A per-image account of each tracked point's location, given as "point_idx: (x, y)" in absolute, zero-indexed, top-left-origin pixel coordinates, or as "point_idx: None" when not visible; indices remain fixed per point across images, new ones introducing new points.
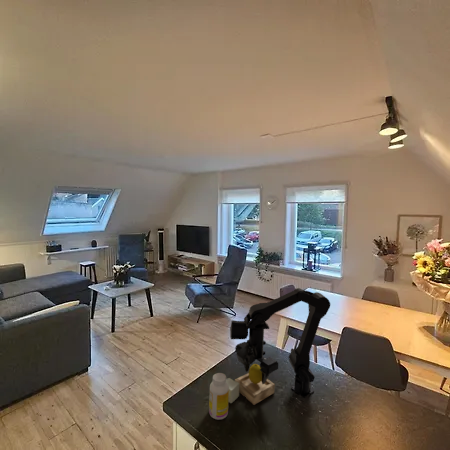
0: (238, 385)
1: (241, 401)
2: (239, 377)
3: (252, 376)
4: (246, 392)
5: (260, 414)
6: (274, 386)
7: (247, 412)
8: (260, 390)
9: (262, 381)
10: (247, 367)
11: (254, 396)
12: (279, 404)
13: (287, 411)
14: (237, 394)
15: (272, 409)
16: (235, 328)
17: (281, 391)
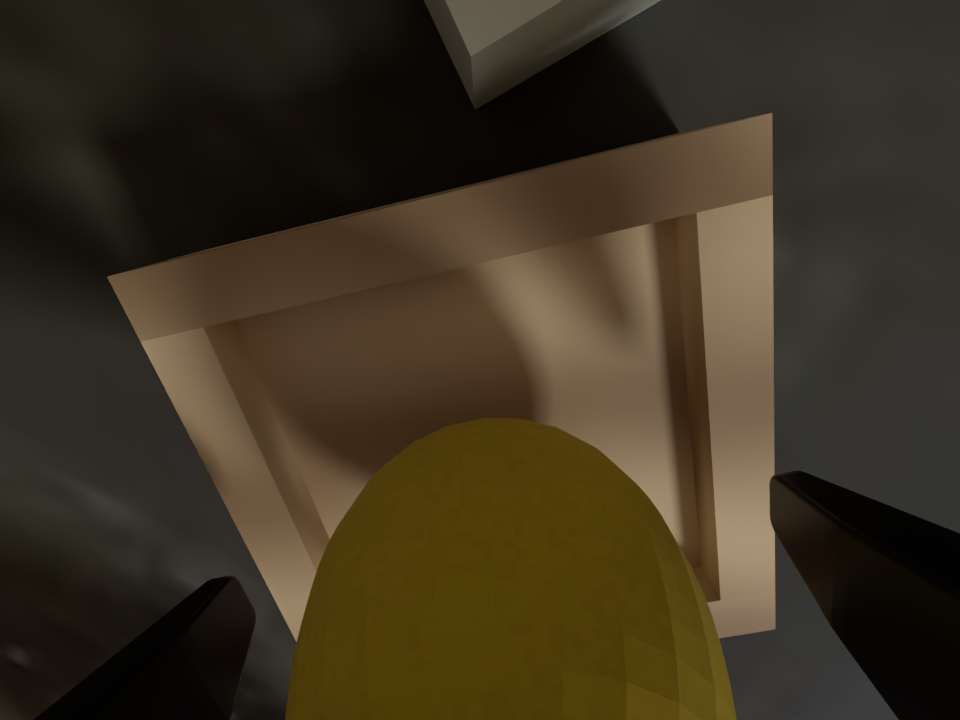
0: (450, 19)
1: (339, 86)
2: (768, 262)
3: (382, 519)
4: (359, 213)
5: (21, 242)
6: None
7: (77, 58)
8: (235, 458)
9: (153, 634)
10: (849, 586)
11: (122, 278)
12: (168, 543)
13: (50, 559)
14: (450, 47)
15: (98, 434)
16: None
17: None
